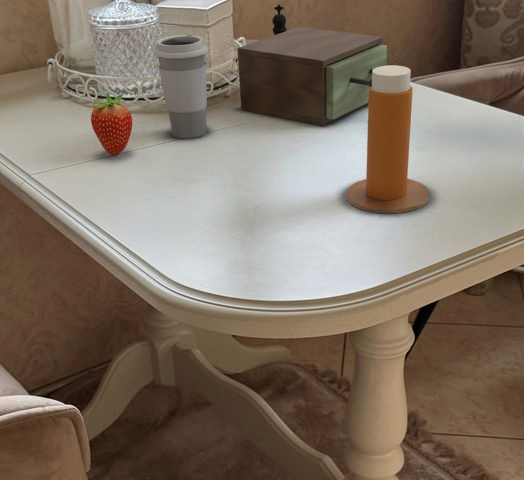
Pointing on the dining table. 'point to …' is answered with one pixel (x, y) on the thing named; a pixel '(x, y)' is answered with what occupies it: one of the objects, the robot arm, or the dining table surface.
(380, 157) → the pill bottle
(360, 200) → the coaster
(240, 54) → the cabinet
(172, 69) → the cup
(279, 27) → the chess piece
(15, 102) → the dining table surface
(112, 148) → the fruit
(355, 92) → the drawer
